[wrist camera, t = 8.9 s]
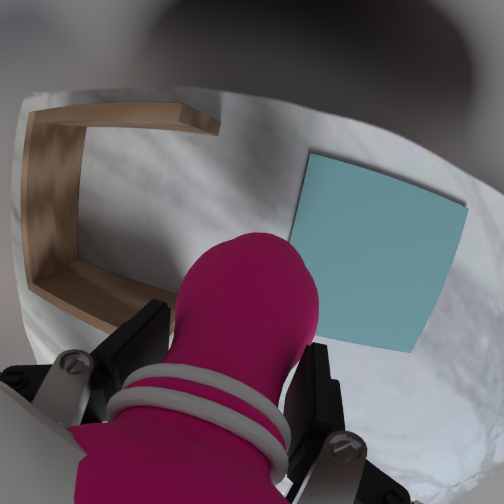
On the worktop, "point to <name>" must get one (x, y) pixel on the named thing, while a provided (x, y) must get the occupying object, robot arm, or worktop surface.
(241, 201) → the worktop surface
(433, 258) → the mat
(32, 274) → the open side box
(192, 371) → the pepper mill
